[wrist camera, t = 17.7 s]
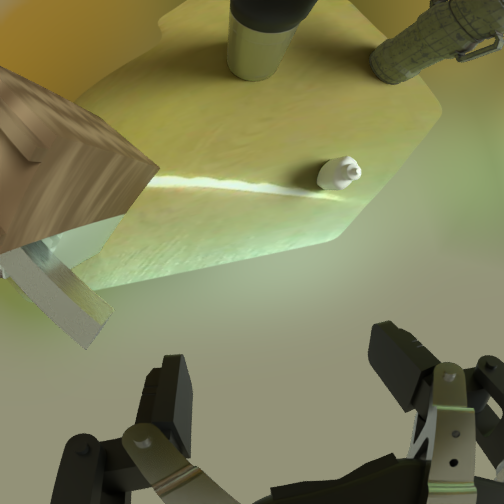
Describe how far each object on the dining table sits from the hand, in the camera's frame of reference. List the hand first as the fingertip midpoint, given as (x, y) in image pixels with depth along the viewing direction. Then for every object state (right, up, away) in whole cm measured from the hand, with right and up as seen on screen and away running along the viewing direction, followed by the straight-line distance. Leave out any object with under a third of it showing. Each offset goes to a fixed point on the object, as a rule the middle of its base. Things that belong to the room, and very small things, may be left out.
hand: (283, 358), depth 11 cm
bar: (-27, +5, +14) cm, 31 cm away
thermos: (+27, +43, +33) cm, 60 cm away
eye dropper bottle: (+12, +18, +37) cm, 43 cm away
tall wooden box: (-26, +20, +32) cm, 46 cm away
